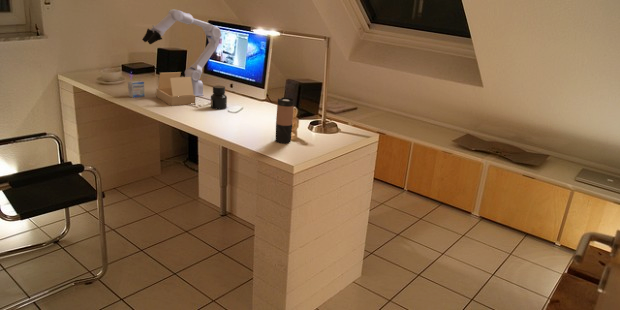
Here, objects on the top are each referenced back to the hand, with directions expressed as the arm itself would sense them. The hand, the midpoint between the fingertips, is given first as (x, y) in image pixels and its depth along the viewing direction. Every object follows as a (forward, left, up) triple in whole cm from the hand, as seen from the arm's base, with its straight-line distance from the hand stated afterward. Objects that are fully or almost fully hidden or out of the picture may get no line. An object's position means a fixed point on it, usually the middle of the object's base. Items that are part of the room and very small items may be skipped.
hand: (146, 41), depth 267 cm
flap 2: (-13, +18, -22) cm, 31 cm away
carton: (-13, +10, -32) cm, 36 cm away
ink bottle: (-29, +32, -32) cm, 54 cm away
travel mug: (-29, +96, -32) cm, 105 cm away
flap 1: (-13, +1, -22) cm, 25 cm away
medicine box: (+4, -6, -32) cm, 33 cm away
